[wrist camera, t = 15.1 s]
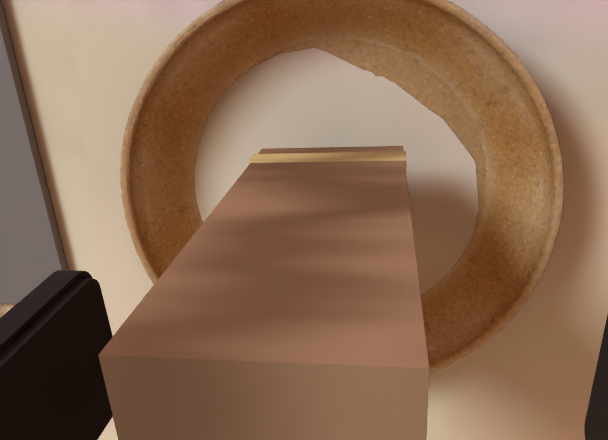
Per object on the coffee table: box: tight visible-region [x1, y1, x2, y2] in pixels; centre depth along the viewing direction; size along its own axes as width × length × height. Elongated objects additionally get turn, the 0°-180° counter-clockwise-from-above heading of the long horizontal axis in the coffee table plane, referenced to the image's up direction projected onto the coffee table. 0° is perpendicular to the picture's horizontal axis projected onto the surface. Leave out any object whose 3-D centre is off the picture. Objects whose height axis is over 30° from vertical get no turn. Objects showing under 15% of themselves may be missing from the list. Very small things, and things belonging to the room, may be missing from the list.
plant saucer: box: [120, 0, 564, 373], centre depth 19 cm, size 15×15×3 cm
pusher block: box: [98, 146, 429, 440], centre depth 13 cm, size 5×5×11 cm
